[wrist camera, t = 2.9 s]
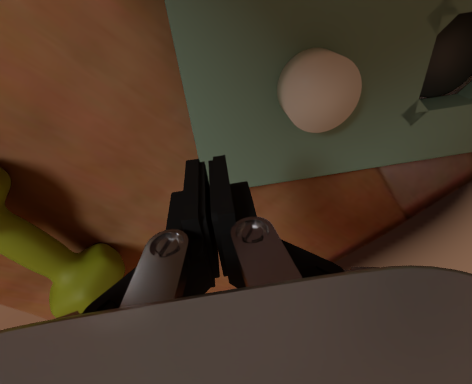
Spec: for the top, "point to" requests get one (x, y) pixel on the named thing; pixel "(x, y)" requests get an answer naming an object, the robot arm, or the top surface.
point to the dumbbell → (58, 260)
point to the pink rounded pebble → (319, 89)
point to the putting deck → (341, 42)
